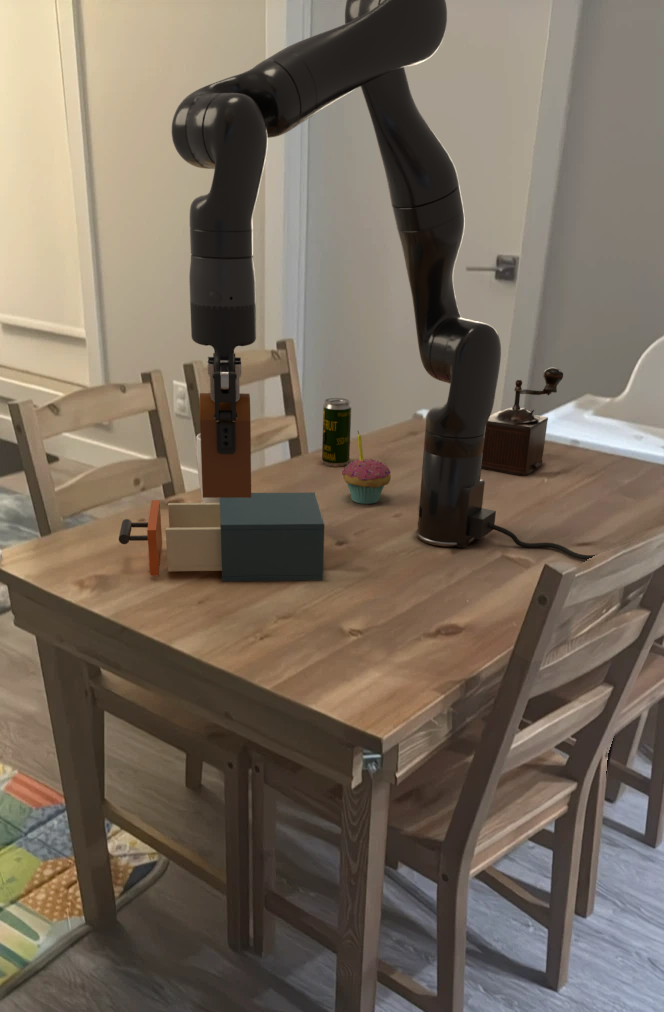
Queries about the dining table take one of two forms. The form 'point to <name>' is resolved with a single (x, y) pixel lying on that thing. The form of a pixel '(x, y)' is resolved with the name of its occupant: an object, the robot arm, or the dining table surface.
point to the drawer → (181, 536)
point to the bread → (225, 470)
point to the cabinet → (272, 537)
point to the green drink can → (336, 432)
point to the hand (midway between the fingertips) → (226, 446)
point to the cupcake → (366, 478)
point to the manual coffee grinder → (518, 433)
